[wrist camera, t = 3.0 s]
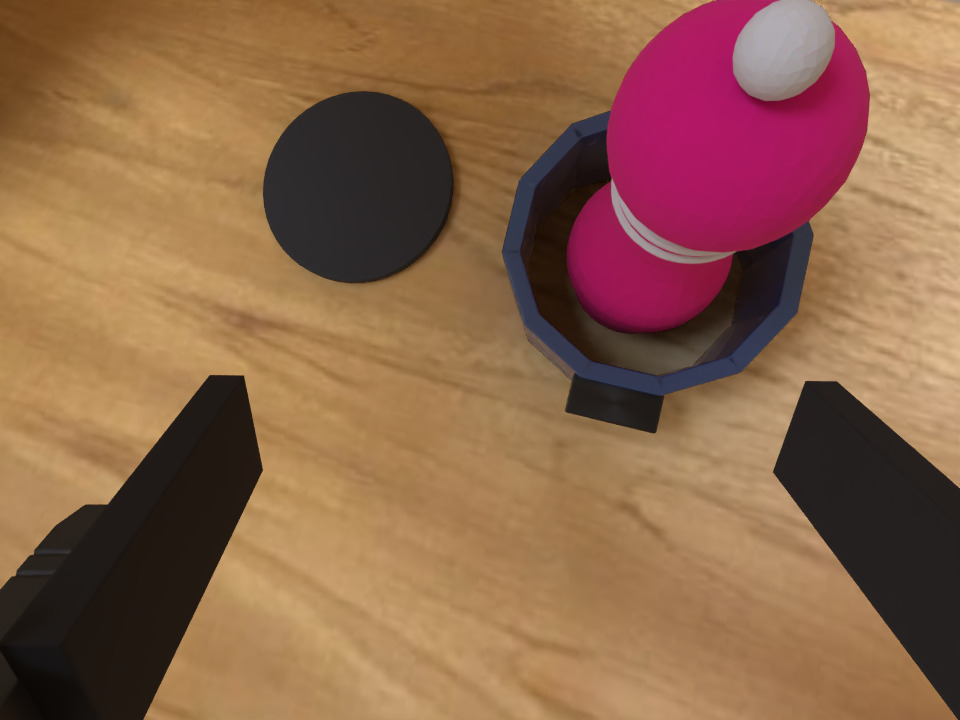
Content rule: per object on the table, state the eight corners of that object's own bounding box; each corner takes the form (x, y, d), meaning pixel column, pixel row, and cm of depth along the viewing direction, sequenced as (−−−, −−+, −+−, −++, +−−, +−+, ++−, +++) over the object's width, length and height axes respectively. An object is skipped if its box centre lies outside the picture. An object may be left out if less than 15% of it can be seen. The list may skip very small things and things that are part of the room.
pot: (483, 392, 30) (468, 388, 24) (549, 115, 31) (550, 47, 25) (720, 449, 29) (766, 460, 23) (783, 156, 30) (844, 93, 24)
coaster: (232, 184, 33) (226, 180, 32) (371, 59, 33) (368, 52, 32) (345, 322, 32) (341, 321, 31) (493, 193, 31) (492, 189, 31)
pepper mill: (596, 190, 30) (693, -209, 11) (724, 240, 29) (1090, -97, 10) (541, 310, 30) (536, 129, 10) (667, 364, 29) (924, 280, 10)
